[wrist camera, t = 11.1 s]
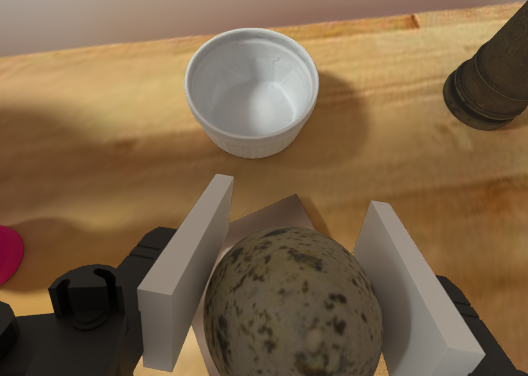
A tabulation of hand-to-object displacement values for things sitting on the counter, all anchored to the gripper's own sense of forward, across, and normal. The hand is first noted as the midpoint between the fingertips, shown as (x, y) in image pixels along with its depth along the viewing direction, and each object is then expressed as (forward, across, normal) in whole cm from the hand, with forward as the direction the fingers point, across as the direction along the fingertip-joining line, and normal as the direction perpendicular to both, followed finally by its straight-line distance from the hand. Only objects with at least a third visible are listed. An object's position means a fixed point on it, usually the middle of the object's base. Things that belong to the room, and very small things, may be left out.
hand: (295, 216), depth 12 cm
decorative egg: (0, 0, -5) cm, 5 cm away
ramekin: (+23, -5, -1) cm, 24 cm away
